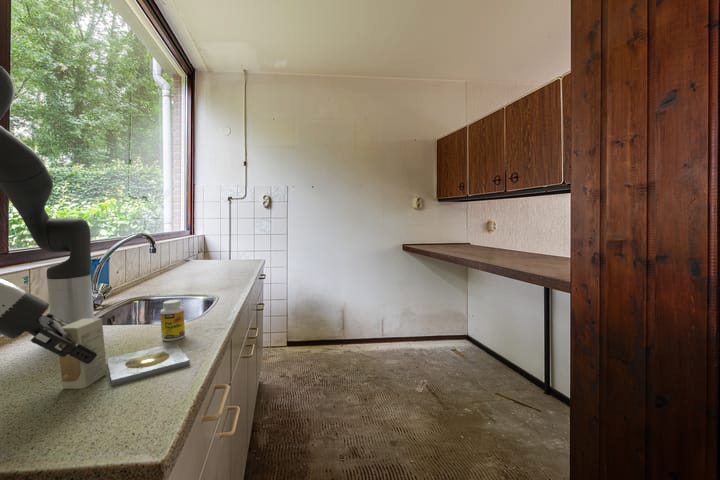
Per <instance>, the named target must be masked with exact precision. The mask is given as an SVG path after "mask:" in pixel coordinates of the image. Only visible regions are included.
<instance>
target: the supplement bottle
mask: <svg viewBox="0 0 720 480" xmlns="http://www.w3.org/2000/svg"><path fill="white" fill-rule="evenodd" d="M162 307H163V308H162V309H161V310H160V328H161V340H163V341H165V342H173V341H174V342H175V341H178V340H181V339H183V338H184V337H185V335H186V334H185V333H186V331H185V314H184V313H185V310H184V307H183V306H181V301H180V300H179V299H169V300H165V301H163V306H162Z"/></svg>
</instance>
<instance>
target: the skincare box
mask: <svg viewBox="0 0 720 480" xmlns="http://www.w3.org/2000/svg"><path fill="white" fill-rule="evenodd" d="M103 326H104V325H103V318H98V317H97V318H94V319H81V320H78V321H75V322H73V323H70V324H68V325H65V326H62V328H63V329H64V330H66V331H67V332H68V333H70V334H71V338H72V339H73V340H75V341H77V342H78V343H79V344H81V345H82V346H84V347H86V348H88V349H90V350H92V351H94V352H96V353H97V356H96V358H95V359H94V360H93V361H92V362H91V363H89V364H86V363H84V362H82V361H80V360H78V359H76V358H74V357H72V356H70V355H69V356H65V357H61V356H59V363H60V372H61V374H60V375H61V383H62V389H67V390H69V389H70V390H73V389H74V390H76V389H79V390H81V389H85V388H87V387H89V386H90V385H92V384H93V383H95V382H97V381H98V380H100V379H101V378H103V377H104V376H106V375H107V374H108V371H107V367H108V366H107V357H106V348H105V338H104V337H105V336H104V329H103ZM65 346H66V344H64V345H63V346H62V347H63V348H64V347H65Z"/></svg>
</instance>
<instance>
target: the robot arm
mask: <svg viewBox="0 0 720 480" xmlns="http://www.w3.org/2000/svg"><path fill="white" fill-rule="evenodd" d="M14 97H15V85H14V82H13V79H12V77H11V75H10V74H9V72H7V71H6V69H5V67H3V66H1V65H0V121H1V120H2V118H3V117H4V116H5V114H6V113H7V112H8V110H9V109H10V107H11V105H12V103H13V99H14ZM53 181H54V180H53V177H52V176H51V173H50V172H49V170H48V168H47V167H46V165H45V162H44V161H43V160H42V158H41V156H39V154H38V153H37V152H36V151H35V150H33V149H32V148H31V147H29V146H28V145H27V144H26V143H24V142H23V141H22V140H21V139H19V138H18V137H17V136H15V135H13V133H11V132H10V131H8V130H7V129H5V128H4V127H3V126H1V125H0V189H1V191H2V192H3V193H4V194H5V196H6V197H7V198H8V200H9V201H10V202H11V204H12V205H13V207H14V208H15V210H16V211H17V213H18V215H19V216H20V217H21V219H22V221H23V223H24V225H25V226H26V228H27V229H28V231H29V235H31V237H32V239H33V241H34V242H35V244H36V246H37V247H38V248H39V249H40V250H42V251H44V252H46V253H69V257H68V258H67V259H66V260H65V261H63V262H61V263H58V264H55V265H53V266H52V265H51V266H49V267H48V268H47V269H46V283H47V293H48V295H47V296H48V302H47V301H44V300H43V299H41V298H39V297H37V296H36V295H34V294H32V293H31V292H29V291H27V290H25V289H23V288H22V287H19V286H18V285H16V284H14V283H12V282H10V281H7V280H5V279H3V278H1V277H0V334H1V335H3V336H4V337H7V338H9V339H11V340H12V339H17V338H19V337H20V336H21V335H22V334H23V333H26V332H27V333H28V334H30V335H31V336H33V337H32V338H31V339H30V342H32V344H36V345H37V346H39V347H42V348H43V349H45V350H48V351H49V352H51V353H54V354H56V355H58V356H59V357H60V356H61V357H65V356H69V355H70V356H72V357H74V358H76V359H78V360H80V361H82V362H84V363H86V364H89V363H91V362H92V361H93V360H94V359H95V358H96V356H97V353H96V352H94V351H92V350H90V349H88V348H86V347H84V346H82V345H81V344H79V343H78V342H77V341H75V340H73V339H72V338H71V334H70V333H68V332H67V331H66V330H64V329H63V328H62V326H65V325H68V324H70V323H73V322H75V321H78V320H81V319H95V313H94V311H95V310H94V309H95V308H94V299H93V285H92V273H91V268H92V256H91V250H92V249H91V247H92V246H91V244H92V243H91V237H92V236H91V229H90V225H89V223H88V221H87V220H86V219H84V218H81V217H80V218H79V217H76V218H75V217H74V218H73V217H69V218H68V217H64V218H63V217H60V218H58V217H57V218H53V217H51V216H50V215H49V214H48V213H47V211H46V210H45V208H46V205H47V202H48V200H49V199H50V196H51V193H52V191H53V188H54V182H53ZM48 309H49V313H47V314H46V315H44V314H45V313H46V311H47V310H48ZM64 344H66V346H65V347H64V348H63V347H62V346H63V345H64Z"/></svg>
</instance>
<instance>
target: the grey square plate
mask: <svg viewBox="0 0 720 480" xmlns="http://www.w3.org/2000/svg"><path fill="white" fill-rule="evenodd" d="M190 361H191V360H190V359H189V358H188V356H187V355H186V354H185V353H184V351H183V350H182V348H181V347H180V346H179V344H178V343H176V342H174V343H173V342H172V343H168V344H165V345H159V346H155V347H150V348H146V349H142V350H138V351H134V352H133V351H132V352H129V353H124V354H120V355H116V356H111V357H106V365H107V367H108V373H109V377H110V385H111V386H112V387H114V386H119V385H122V384H126V383H130V382H132V381H137V380H141V379H144V378H148V377H151V376H155V375H160V374H164V373H166V372H170V371H174V370H179V369H181V368H184V367H185V368H186V367H188V366H191V362H190Z"/></svg>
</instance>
